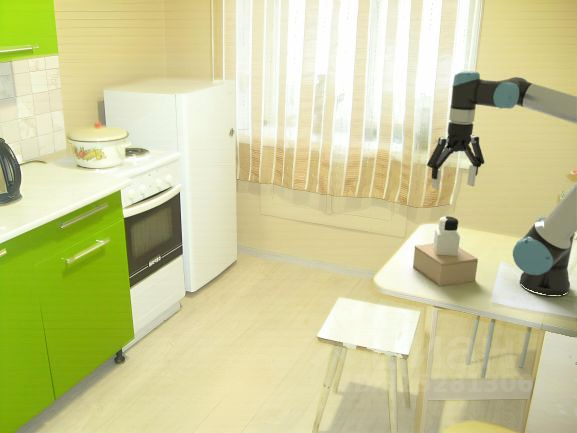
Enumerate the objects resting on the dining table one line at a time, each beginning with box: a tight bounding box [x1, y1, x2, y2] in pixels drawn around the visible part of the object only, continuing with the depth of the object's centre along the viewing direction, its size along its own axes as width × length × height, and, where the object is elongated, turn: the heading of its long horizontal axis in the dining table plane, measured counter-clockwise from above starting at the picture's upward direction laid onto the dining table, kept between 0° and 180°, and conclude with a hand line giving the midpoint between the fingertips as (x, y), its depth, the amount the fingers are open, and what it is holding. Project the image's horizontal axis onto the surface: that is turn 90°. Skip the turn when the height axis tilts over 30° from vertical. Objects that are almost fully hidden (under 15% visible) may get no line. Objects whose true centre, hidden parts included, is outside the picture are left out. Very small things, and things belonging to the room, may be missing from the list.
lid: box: [414, 242, 479, 266], centre depth 206 cm, size 16×14×1 cm
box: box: [412, 248, 479, 287], centre depth 208 cm, size 16×14×7 cm
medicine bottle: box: [433, 215, 461, 256], centre depth 205 cm, size 7×7×12 cm
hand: (453, 187), depth 199 cm, fingers open, 13 cm apart
